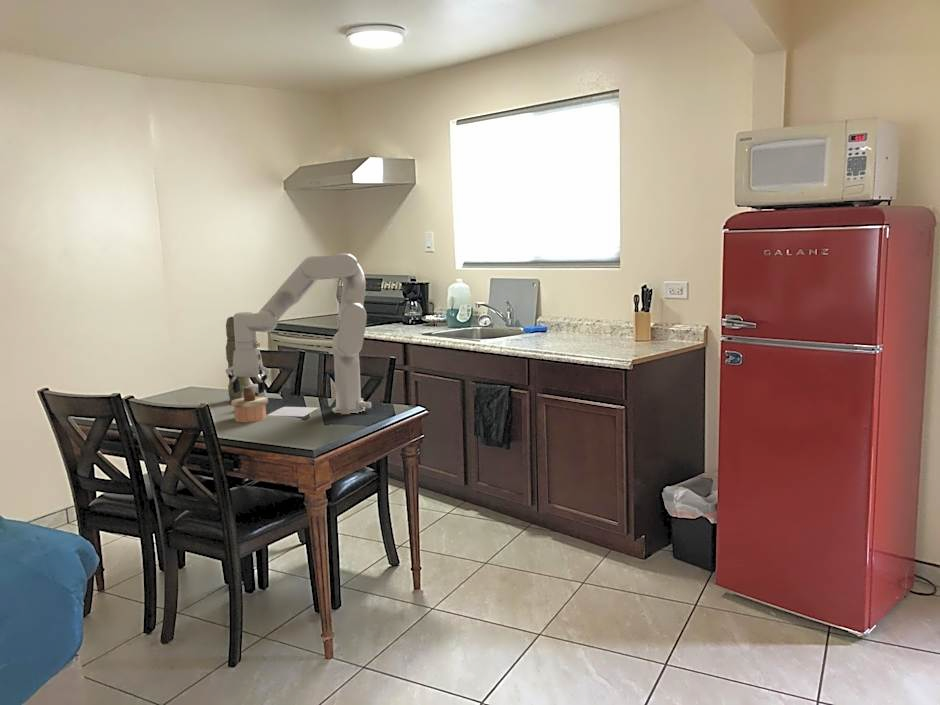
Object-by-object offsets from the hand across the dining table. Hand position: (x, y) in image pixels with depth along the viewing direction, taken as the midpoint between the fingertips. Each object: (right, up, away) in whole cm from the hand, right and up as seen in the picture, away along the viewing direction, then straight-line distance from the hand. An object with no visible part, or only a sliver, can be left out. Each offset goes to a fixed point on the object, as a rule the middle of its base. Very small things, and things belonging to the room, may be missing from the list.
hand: (249, 392), depth 272 cm
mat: (+13, -8, +12) cm, 20 cm away
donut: (-4, -8, +19) cm, 21 cm away
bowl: (0, -10, +1) cm, 10 cm away
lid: (0, -4, +1) cm, 4 cm away
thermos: (-14, -6, +34) cm, 37 cm away
